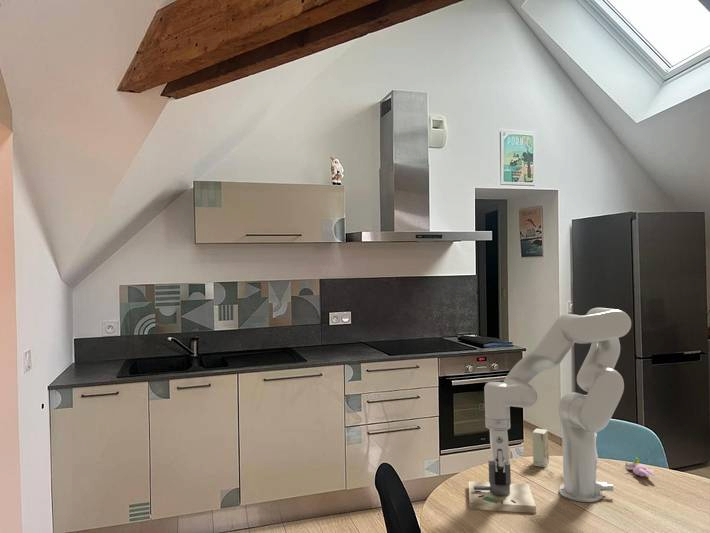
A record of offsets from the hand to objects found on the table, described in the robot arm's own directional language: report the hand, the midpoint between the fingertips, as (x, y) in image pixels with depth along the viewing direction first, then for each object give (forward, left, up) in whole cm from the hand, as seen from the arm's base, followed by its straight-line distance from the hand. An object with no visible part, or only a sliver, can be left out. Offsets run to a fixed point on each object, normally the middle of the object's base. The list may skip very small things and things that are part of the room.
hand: (499, 480), depth 162 cm
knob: (+2, 0, -4) cm, 4 cm away
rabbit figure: (-48, -25, -6) cm, 55 cm away
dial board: (0, 0, -6) cm, 6 cm away
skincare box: (-17, -32, -6) cm, 37 cm away
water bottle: (-33, -33, -6) cm, 47 cm away
